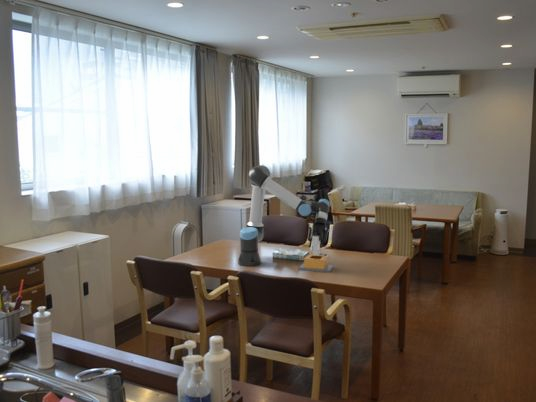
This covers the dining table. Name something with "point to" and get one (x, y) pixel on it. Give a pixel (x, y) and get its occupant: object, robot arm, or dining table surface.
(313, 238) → the white cylinder
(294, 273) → the dining table surface
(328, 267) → the yellow and grey block
